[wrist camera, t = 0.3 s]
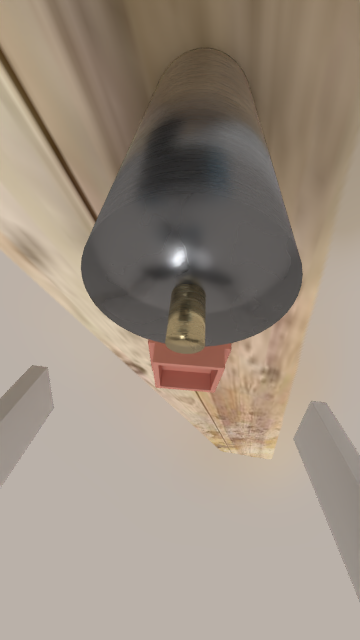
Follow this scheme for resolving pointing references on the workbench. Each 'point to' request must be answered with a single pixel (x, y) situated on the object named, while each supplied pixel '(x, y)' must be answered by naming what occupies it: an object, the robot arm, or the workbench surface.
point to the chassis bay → (188, 367)
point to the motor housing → (195, 217)
